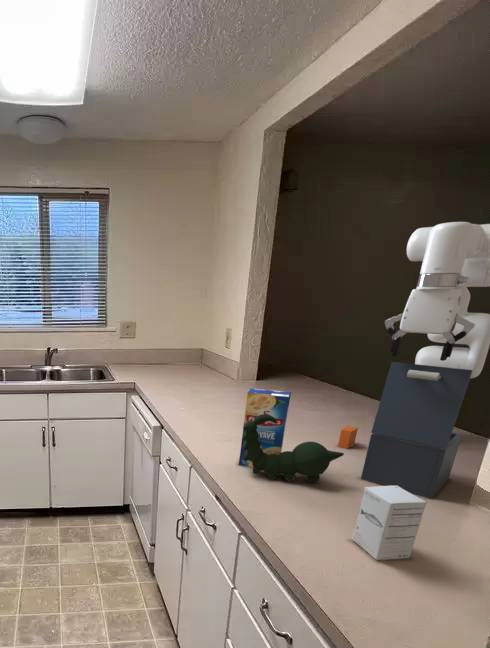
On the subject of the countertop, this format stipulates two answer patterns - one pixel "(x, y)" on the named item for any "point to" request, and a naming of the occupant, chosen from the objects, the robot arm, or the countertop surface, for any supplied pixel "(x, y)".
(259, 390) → the blue food box
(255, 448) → the toy figurine
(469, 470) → the countertop surface
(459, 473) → the countertop surface
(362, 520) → the white packaging box
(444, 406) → the box lid
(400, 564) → the countertop surface
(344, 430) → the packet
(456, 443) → the trash can
